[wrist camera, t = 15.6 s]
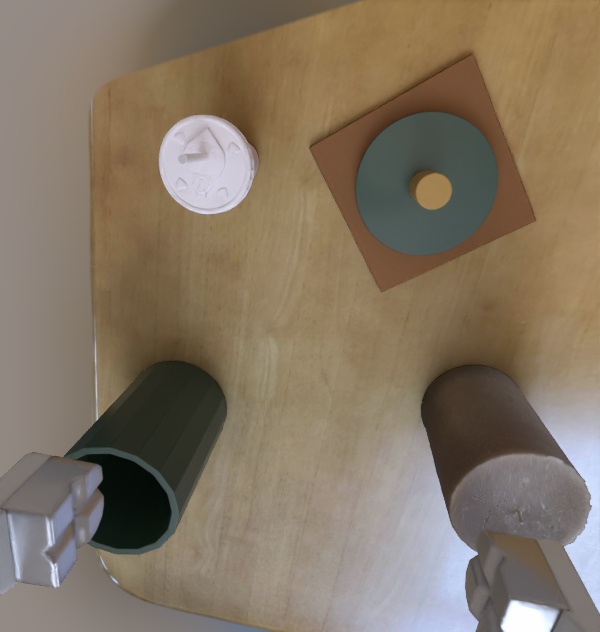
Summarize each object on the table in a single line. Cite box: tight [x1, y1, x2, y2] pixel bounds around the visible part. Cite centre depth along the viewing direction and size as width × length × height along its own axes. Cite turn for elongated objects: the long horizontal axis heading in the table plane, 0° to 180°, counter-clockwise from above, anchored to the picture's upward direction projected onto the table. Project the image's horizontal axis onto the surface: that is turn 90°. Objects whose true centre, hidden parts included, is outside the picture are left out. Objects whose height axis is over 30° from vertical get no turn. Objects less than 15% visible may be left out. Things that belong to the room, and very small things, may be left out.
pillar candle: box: [421, 365, 592, 552], centre depth 38 cm, size 10×10×15 cm
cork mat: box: [310, 54, 536, 292], centre depth 38 cm, size 14×14×1 cm
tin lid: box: [355, 111, 498, 255], centre depth 36 cm, size 11×11×5 cm
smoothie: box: [159, 115, 259, 214], centre depth 33 cm, size 6×6×14 cm
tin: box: [64, 361, 227, 554], centre depth 42 cm, size 10×10×14 cm
